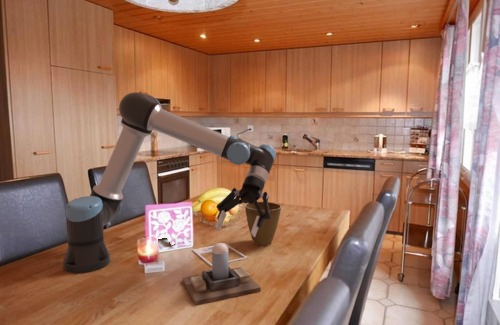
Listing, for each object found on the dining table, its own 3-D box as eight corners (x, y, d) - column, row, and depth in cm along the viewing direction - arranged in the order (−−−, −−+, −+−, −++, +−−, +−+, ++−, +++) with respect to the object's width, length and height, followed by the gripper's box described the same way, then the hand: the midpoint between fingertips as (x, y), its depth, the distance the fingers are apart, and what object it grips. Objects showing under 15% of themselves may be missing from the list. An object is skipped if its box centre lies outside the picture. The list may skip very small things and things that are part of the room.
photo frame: (225, 242, 148) (247, 256, 132) (225, 245, 148) (247, 259, 132) (192, 249, 140) (211, 265, 125) (192, 251, 140) (211, 268, 125)
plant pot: (259, 252, 139) (259, 211, 137) (238, 241, 151) (238, 204, 149) (288, 244, 148) (288, 206, 146) (265, 234, 160) (265, 199, 158)
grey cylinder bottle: (215, 287, 107) (214, 247, 106) (210, 280, 112) (209, 241, 110) (230, 284, 109) (230, 244, 108) (225, 277, 114) (225, 239, 112)
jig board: (195, 304, 99) (195, 292, 99) (182, 281, 114) (182, 270, 113) (260, 291, 107) (260, 279, 107) (240, 270, 122) (240, 260, 121)
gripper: (289, 190, 128) (271, 243, 117) (229, 183, 139) (207, 231, 128) (284, 178, 123) (265, 232, 111) (222, 171, 134) (199, 220, 122)
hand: (234, 231), depth 119 cm, fingers open, 13 cm apart
